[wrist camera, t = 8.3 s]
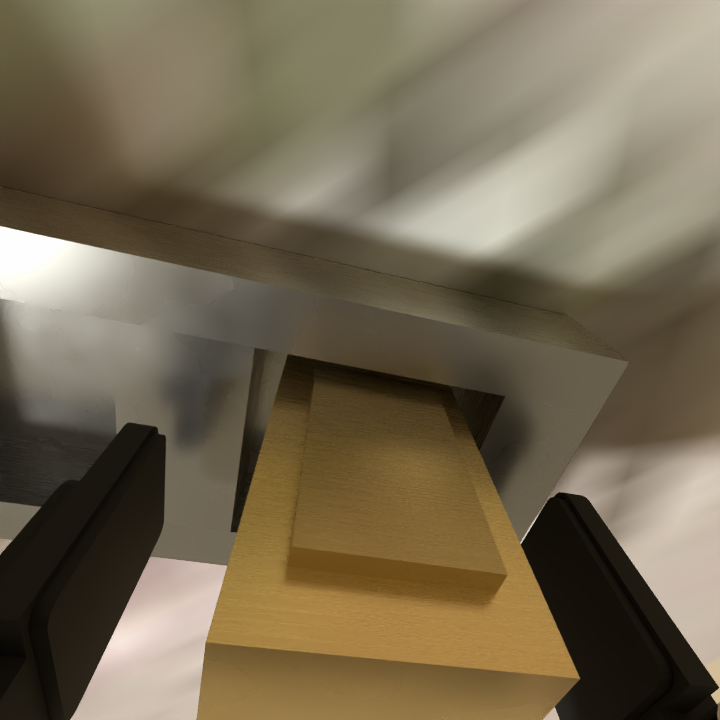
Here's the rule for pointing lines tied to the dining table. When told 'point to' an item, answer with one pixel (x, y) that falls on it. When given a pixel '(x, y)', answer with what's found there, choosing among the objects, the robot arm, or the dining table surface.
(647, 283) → the dining table surface
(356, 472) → the tan shipping carton
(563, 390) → the grey flat frame
